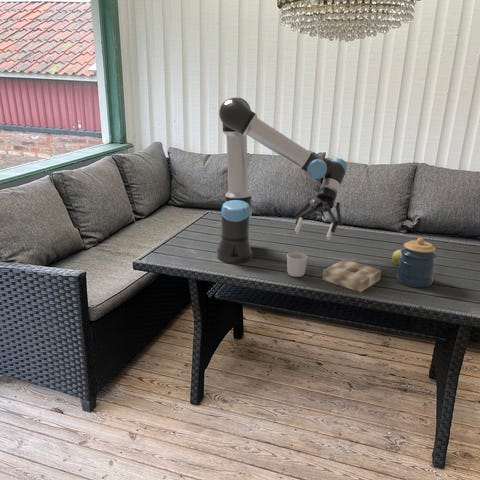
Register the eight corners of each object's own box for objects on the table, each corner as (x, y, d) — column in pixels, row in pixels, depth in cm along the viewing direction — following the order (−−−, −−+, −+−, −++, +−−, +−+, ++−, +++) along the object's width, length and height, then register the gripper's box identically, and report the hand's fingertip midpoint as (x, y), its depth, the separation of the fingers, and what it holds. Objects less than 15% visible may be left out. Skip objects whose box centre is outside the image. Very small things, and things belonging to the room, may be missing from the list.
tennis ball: (404, 252, 186) (411, 248, 190) (388, 250, 190) (395, 247, 195) (404, 267, 187) (411, 263, 192) (388, 265, 192) (395, 261, 196)
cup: (296, 267, 185) (297, 248, 182) (313, 272, 180) (315, 253, 177) (281, 274, 177) (282, 255, 174) (299, 280, 172) (300, 260, 169)
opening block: (322, 279, 173) (323, 269, 172) (343, 268, 185) (344, 259, 184) (360, 292, 163) (361, 282, 162) (380, 279, 175) (381, 270, 174)
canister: (439, 286, 170) (447, 242, 165) (410, 290, 167) (417, 244, 161) (417, 273, 182) (424, 231, 176) (389, 276, 178) (395, 233, 173)
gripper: (359, 201, 186) (343, 245, 179) (303, 193, 198) (286, 234, 191) (356, 190, 180) (339, 236, 172) (298, 182, 192) (281, 225, 185)
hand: (311, 235), depth 182 cm, fingers open, 13 cm apart
